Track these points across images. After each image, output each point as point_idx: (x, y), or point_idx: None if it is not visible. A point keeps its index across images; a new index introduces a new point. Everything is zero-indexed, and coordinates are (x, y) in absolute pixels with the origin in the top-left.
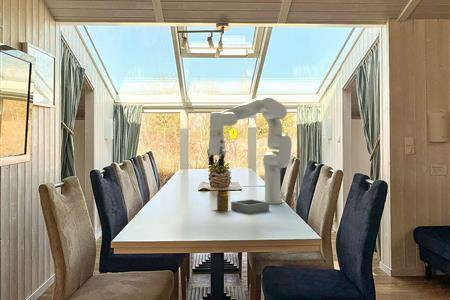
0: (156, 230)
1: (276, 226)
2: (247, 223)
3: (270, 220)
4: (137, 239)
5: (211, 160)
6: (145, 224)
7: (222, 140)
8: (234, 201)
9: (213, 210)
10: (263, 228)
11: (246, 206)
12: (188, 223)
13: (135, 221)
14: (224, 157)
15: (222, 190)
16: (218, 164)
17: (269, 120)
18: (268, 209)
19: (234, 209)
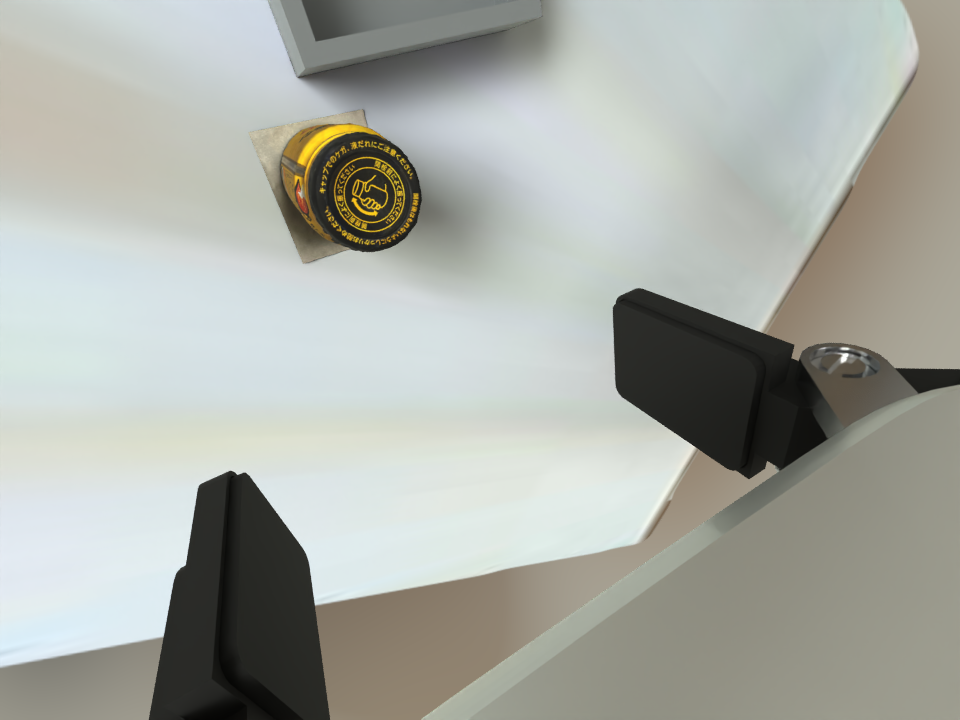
0: (603, 490)
1: (783, 80)
2: (686, 182)
3: (708, 16)
4: (651, 511)
5: (288, 629)
6: (522, 534)
7: None
8: (294, 17)
9: (311, 247)
10: (767, 158)
11: (518, 22)
12: (571, 411)
13: (465, 574)
14: (870, 353)
15: (417, 215)
16: (642, 404)
17: None
18: None
19: (347, 65)
